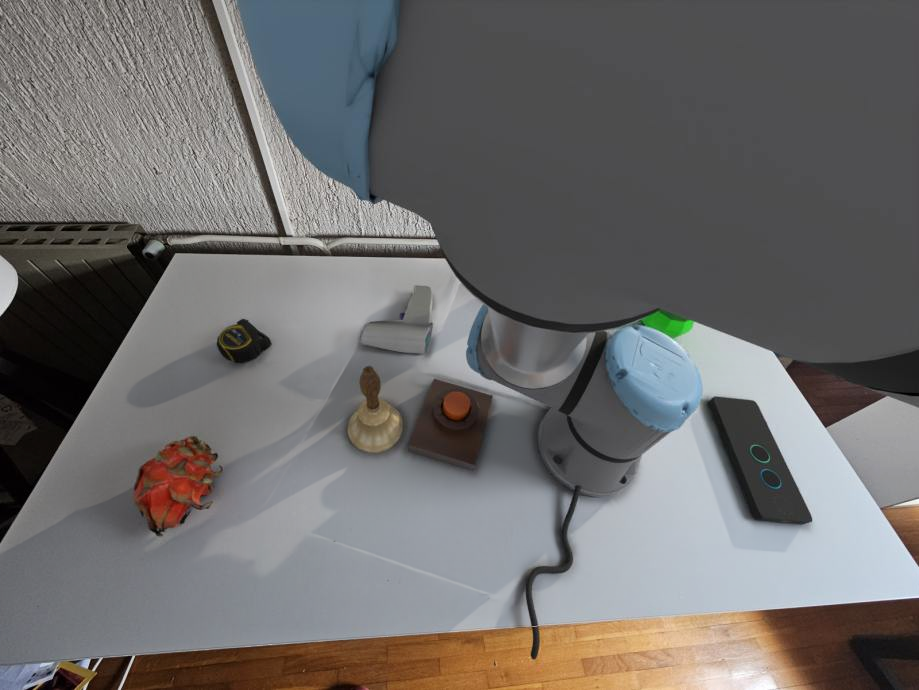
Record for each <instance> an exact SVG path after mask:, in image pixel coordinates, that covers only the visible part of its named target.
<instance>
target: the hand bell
mask: <svg viewBox="0 0 919 690" xmlns="http://www.w3.org/2000/svg"><path fill="white" fill-rule="evenodd" d="M381 384H382V382H381V377H380V375H379V374H378V373H377V371H376V370H375V369H374V367H372V366H371V365H367V366H365V367H364V368H363V369H362V373H361V374H360V377H359V388H360V391H361V394H362V395H363V396H364V397H365V398H366V399H365V400H364V401H362V403H361V404H360V405H359V406H358V409H357V410H355V411H354V412H353V413H352V415H351V417H350V419H349V421H348V424H347V435H348V439H349V441H350V442H351V444H352V445H353V447H355V448H356V449H358V450H360V451H362V452H365V453H369V454H377V453H382V452H385V451H388V450H390V449H391V448H392V447H393V446H395V445H396V444H397V443H398V442H399V441H400V438H401V437H402V435H403V434H402V433H403V431H404V420H403V416H402V415H401V413H400V412H399V411H398V410H397V409H396V408H395V407H394V406H393V405H390V404H389V403H387V401H385V400H384V399H382V398H380V397H379V394H380V392H381V388H382V385H381Z"/></svg>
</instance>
